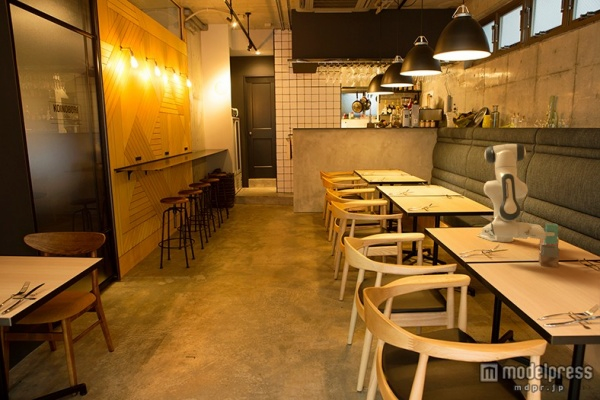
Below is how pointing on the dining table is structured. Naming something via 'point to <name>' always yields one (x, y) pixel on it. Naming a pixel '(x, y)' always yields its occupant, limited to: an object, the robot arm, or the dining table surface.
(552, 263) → the tower base
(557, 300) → the dining table surface
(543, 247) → the tower top
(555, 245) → the stack of blocks
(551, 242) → the teal pillar
